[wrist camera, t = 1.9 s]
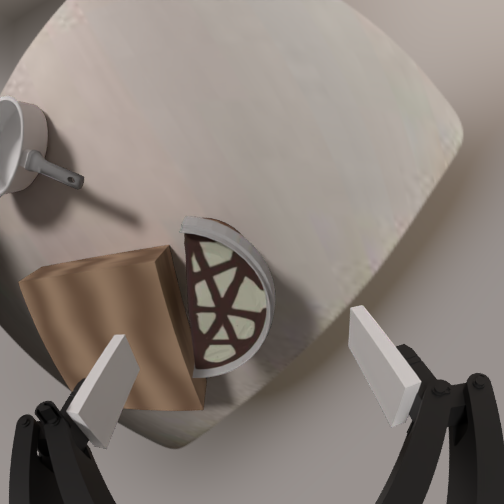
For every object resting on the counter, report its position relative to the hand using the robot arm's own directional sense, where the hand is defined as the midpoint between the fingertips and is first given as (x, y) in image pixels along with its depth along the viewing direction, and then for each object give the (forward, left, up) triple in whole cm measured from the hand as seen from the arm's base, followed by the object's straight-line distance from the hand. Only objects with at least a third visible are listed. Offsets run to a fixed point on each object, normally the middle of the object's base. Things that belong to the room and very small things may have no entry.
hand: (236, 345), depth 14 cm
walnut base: (-15, -6, -13) cm, 21 cm away
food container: (0, 0, -13) cm, 13 cm away
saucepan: (-20, +16, -13) cm, 29 cm away
